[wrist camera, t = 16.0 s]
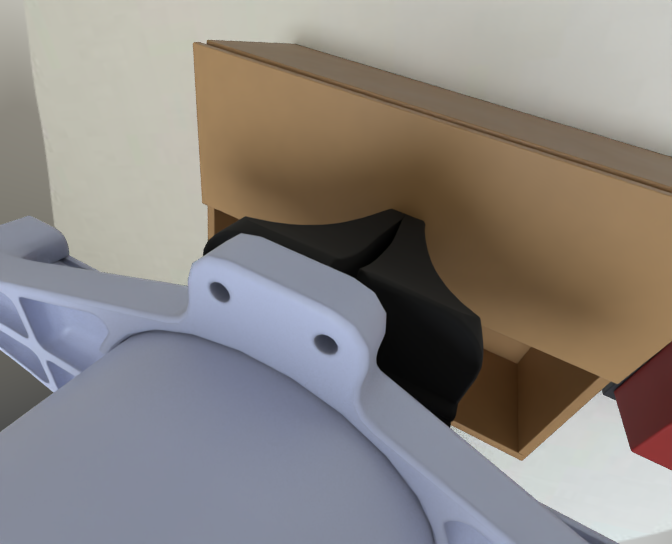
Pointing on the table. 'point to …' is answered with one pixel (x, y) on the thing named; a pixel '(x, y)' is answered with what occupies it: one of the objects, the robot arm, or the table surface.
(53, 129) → the table surface
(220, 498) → the robot arm
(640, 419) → the stapler
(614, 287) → the flap
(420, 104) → the carton
